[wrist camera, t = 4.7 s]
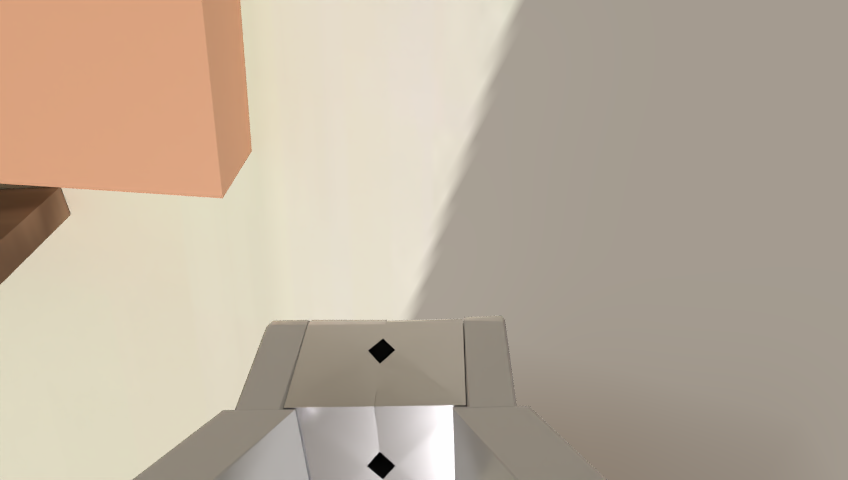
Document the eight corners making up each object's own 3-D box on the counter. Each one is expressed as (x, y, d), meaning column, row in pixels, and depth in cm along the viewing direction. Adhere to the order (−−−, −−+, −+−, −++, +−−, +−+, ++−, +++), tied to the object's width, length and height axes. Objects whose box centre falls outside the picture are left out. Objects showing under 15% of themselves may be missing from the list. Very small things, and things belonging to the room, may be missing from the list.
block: (13, -74, 20) (-72, -59, 17) (238, -58, 21) (197, -40, 17) (62, 135, 24) (0, 183, 21) (253, 148, 24) (222, 198, 21)
